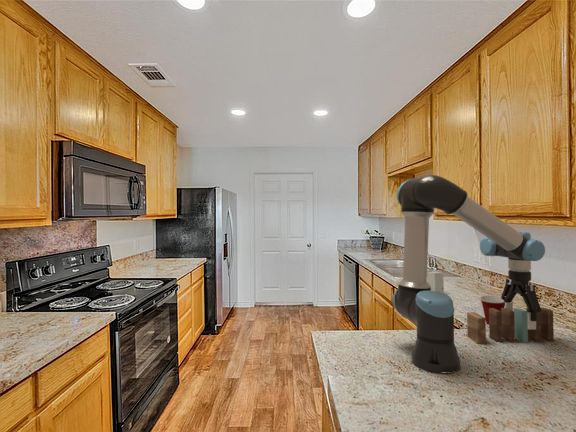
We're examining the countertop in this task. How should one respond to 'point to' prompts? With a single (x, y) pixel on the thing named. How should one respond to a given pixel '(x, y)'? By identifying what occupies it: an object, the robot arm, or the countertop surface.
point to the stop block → (476, 327)
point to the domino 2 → (508, 324)
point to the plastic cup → (491, 304)
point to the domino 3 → (521, 324)
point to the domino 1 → (495, 325)
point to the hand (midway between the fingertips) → (519, 323)
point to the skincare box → (436, 281)
